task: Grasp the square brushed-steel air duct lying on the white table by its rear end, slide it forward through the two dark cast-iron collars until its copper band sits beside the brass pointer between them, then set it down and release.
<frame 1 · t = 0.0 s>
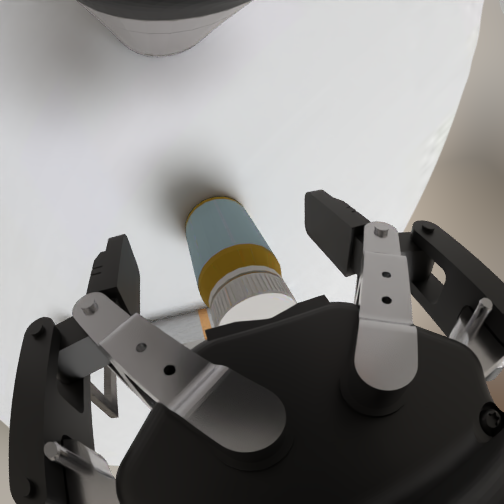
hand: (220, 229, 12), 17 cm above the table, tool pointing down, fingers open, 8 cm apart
bottle: (215, 222, 32), on the table
collars: (117, 341, 38), on the table
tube: (218, 317, 41), on the table
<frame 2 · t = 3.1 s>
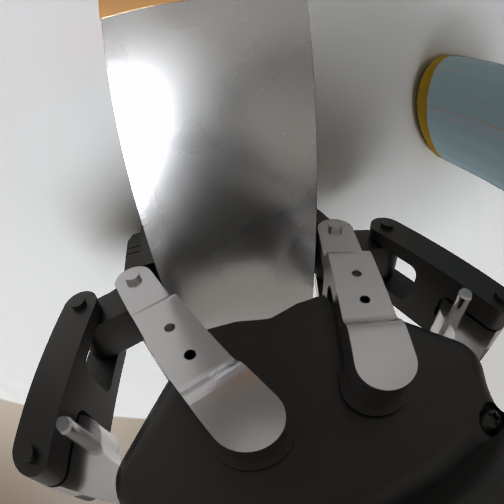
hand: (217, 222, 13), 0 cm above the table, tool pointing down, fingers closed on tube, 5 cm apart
bottle: (442, 104, 14), on the table
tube: (191, 64, 9), on the table, touching gripper
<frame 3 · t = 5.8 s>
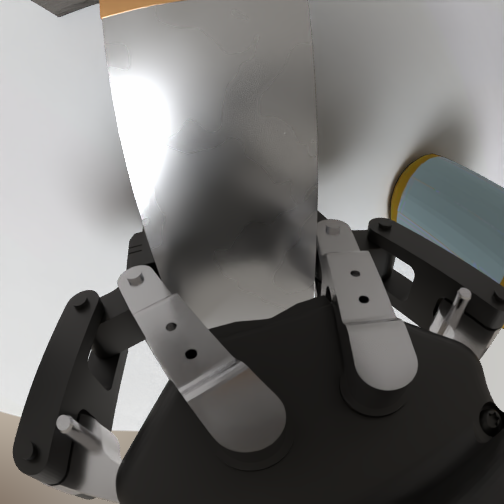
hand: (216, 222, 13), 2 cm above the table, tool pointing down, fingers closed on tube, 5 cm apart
bottle: (417, 194, 19), on the table
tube: (192, 64, 9), point 1 cm above the table, touching gripper
when the fingers open (1 cm above the table, at t = 7.9 s): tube stays where it is, on the table.
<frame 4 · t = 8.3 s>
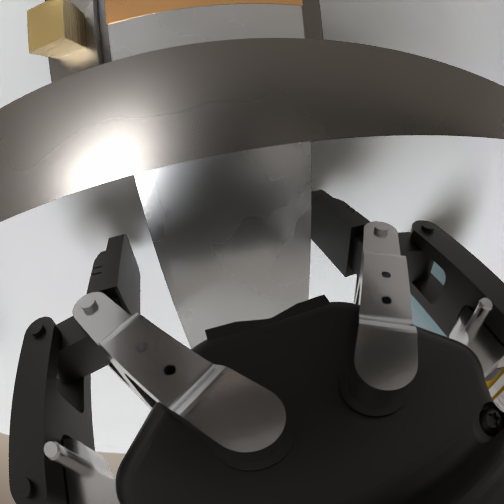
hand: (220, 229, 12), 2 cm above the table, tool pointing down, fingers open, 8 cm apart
bottle: (411, 264, 21), on the table
collars: (184, 12, 8), on the table
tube: (192, 66, 10), on the table
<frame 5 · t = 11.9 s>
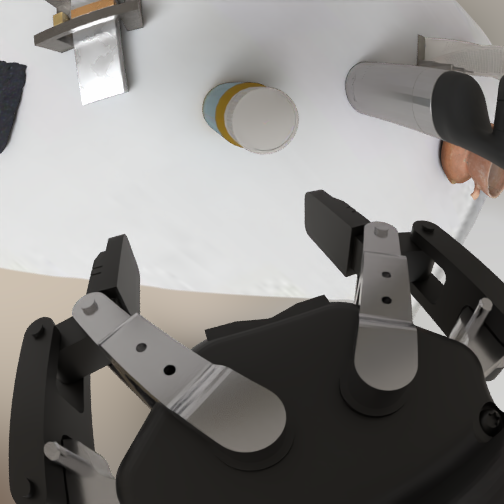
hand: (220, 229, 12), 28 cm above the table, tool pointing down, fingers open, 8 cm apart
bottle: (227, 107, 35), on the table
collars: (98, 12, 22), on the table
ceramic jug: (452, 145, 50), on the table
skyscraper: (429, 53, 37), on the table
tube: (100, 28, 24), on the table
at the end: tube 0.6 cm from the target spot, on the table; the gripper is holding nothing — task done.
